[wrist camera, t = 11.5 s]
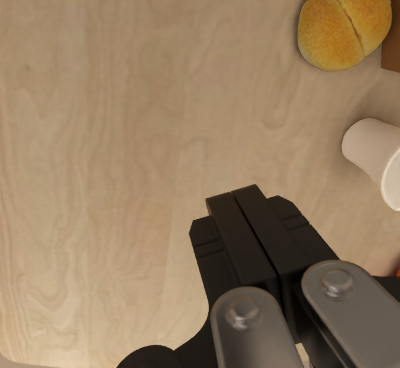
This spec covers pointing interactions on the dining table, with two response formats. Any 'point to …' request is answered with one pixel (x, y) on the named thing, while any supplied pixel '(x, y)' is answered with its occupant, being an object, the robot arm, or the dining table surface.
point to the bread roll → (342, 31)
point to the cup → (376, 155)
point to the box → (392, 41)
